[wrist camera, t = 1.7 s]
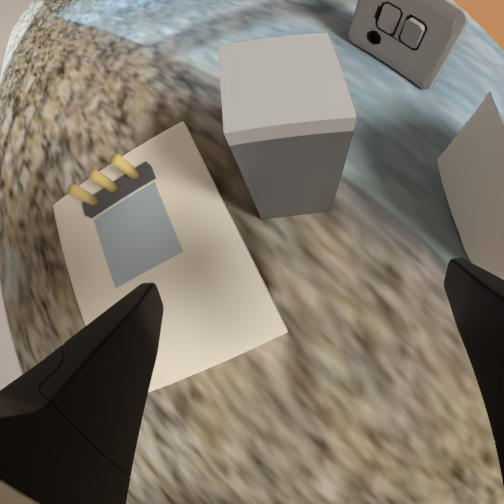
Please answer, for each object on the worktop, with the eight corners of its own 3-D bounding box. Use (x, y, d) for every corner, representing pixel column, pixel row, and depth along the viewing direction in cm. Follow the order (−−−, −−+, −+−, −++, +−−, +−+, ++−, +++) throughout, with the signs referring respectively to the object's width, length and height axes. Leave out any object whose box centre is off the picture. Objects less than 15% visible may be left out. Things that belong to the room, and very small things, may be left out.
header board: (288, 330, 21) (284, 337, 16) (125, 400, 22) (88, 416, 17) (187, 127, 25) (165, 92, 20) (60, 208, 26) (23, 191, 21)
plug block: (330, 211, 22) (356, 117, 11) (261, 219, 23) (223, 133, 11) (319, 149, 23) (327, 32, 12) (254, 157, 24) (218, 46, 12)
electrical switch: (345, 41, 25) (357, -36, 16) (372, 25, 26) (387, -43, 17) (426, 95, 23) (463, 22, 14) (446, 74, 24) (480, 9, 15)
